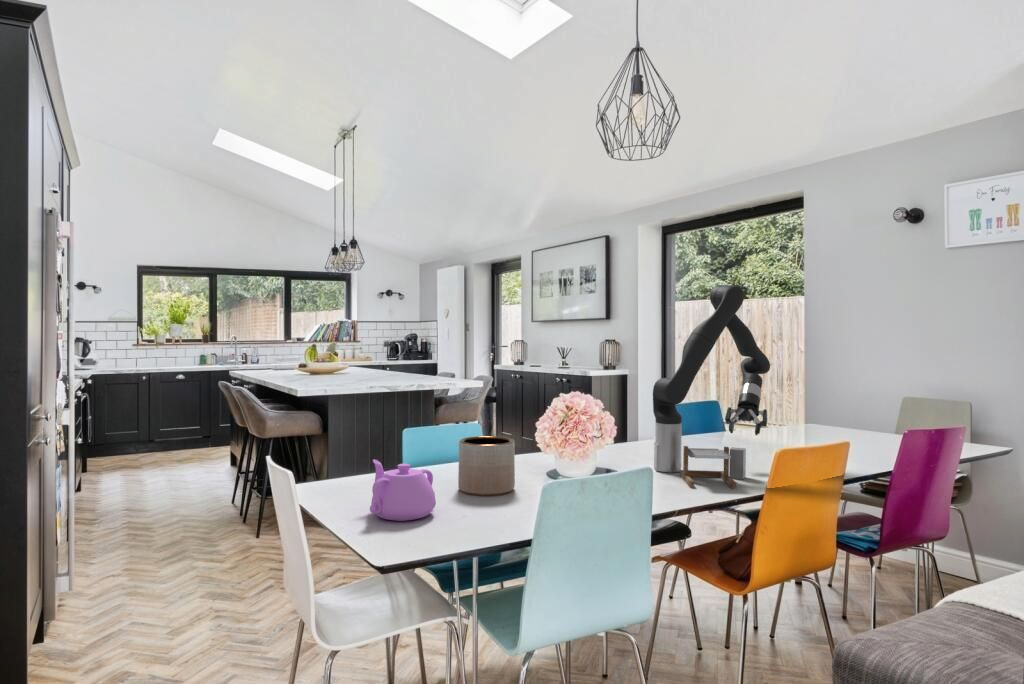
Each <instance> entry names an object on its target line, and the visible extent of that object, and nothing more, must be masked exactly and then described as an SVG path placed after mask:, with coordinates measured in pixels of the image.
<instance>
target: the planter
mask: <svg viewBox="0 0 1024 684" xmlns="http://www.w3.org/2000/svg"><path fill="white" fill-rule="evenodd" d="M515 443H516V442H515V439H513V438H509V437H506V436H497V435H493V436H492V435H478V436H477V435H475V436H468V437H463V438H461V439H459V441H458V475H457V477H458V479H457V480H458V483H457V485H458V489H459V490H460V491H461V492H463V493H465V494H468V495H472V496H480V497H481V496H484V497H487V496H489V497H491V496H500V495H501V496H502V495H505V494H508V493H510V492H512V491H513V490H514V489H515V483H516V478H515V477H516V474H515V473H516V470H515V469H516V468H515V466H516V465H515V462H516V461H515V454H516V453H515V446H516V445H515Z"/></svg>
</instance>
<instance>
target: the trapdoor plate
mask: <svg viewBox="0 0 1024 684" xmlns="http://www.w3.org/2000/svg"><path fill="white" fill-rule="evenodd" d="M688 450H690V452H688V458H695V459H713V460H714V459H716V460H718V459H719V460H720V459H722V460H724V459H729V460H730V459H731V456H730V453H729V454H728V453H726V452H725V451H724V449H719V448H697V447H696V448H694V447H693V448H691V447H688Z"/></svg>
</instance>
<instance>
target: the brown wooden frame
mask: <svg viewBox="0 0 1024 684" xmlns="http://www.w3.org/2000/svg"><path fill="white" fill-rule="evenodd" d="M688 448H689V446H688V445H683V459H682V461H683V462H682V463H683V464H682V465H683V468H682V469H681V470H680V472H679V474H680V478H681V479H682V480H683V481H684V482H685V483H686V485H687V486H688V488H690V489H694V488H695V482H694V480H693V479H692V478H720V479H721V480H723V482H725V483H726V484H727V485H728V487H730V488H731V489H733V490H737V484H738V483H737V482H736V481H735V479H732V478H730V477H729V471H730V459H723V470H695V469H693V470H691V469H690V470H689V456H688V452H690V450H688ZM723 451H725V452H726V453H728V454H729V455H730V447H729V446H723Z"/></svg>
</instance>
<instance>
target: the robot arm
mask: <svg viewBox="0 0 1024 684" xmlns="http://www.w3.org/2000/svg"><path fill="white" fill-rule="evenodd" d="M744 299H745V293H744V289H743V288H742V287H741V286H738V285H730V284H729V285H728V284H720V285H719V284H717V285H715V286H714V287H713V288H712V289H711V291H710V294H709V301H710V304H711V305H712V307H713V309H714V312H713V313H712V314H711V315H710V316H709V317H708V318H706V319H705V320H703V321H702V322H701V323H700V324H698V325H697V326H696V327H695V328H694V329H693V330H692V332H691V333H690V335H689V336H688V338H687V339H686V341H685V343H684V345H683V349H682V356H681V361H680V365H679V367H678V369H677V370H676V372H675V373H674V375H673V376H672V377H671V378H670V377H661V378H659V379H658V380H656V381H655V382H654V385H653V389H652V411H653V415H654V419H655V429H654V431H655V433H654V434H655V436H654V437H655V439H654V440H655V442H653V446H654V447H653V450H654V452H653V468H654V470H655V471H656V472H661V473H678V472H679V473H680V470H682V437H683V436H682V434H683V433H682V429H683V428H682V425H683V422H682V420H683V419H682V418H683V417H682V415H681V414H680V413H679V411H678V409H677V408H676V405H679V404H681V403H682V402H683V401H684V400H685V398H686V397H687V395H688V393H689V390H690V389H691V387H692V384H693V382H694V380H695V377H697V374H698V372H699V371H700V370H701V368H702V365H703V364H704V362H705V360H706V359H707V357H708V356H709V355H710V353H711V352H712V349H713V348H714V346H715V345H716V343H717V341H718V339H719V338H720V336H721V335H722V333H723V331H724V330H725V329H726V328H727V330H728V332H729V333H730V335H731V337H732V340H733V342H734V344H735V346H736V348H737V351H738V352H739V355H740V356H742V357H745V358H744V359H743V360H742V361H741V363H740V370H741V373H742V383H741V384H742V385H741V388H740V390H739V394H738V395H739V396H738V399H737V400H738V401H737V407H736V408H735V409H733V408H732V407H729V406H728V407H727V408H726V409H727V410H726V413H725V418H724V421H725V424H727V425H728V431H729V433H730V434H733V433H734V430H735V429H734V428H735V425H736V424H737V423H739V422H741V421H742V422H753V423H754V424H755V429H754V435H755V436H758V435H760V432H761V428H762V427H767V425H768V411H767V409H763V410H760V405H761V399H762V397H761V396H762V389H763V388H762V387H763V377H761V376H760V375H765V374H767V373H769V371H770V369H771V363H770V360H769V358H768V356H766V355H765V353H764V352H763V351H762V350H761V349H760V347H759V346H758V345H757V343H756V340H755V338H754V336H753V333H752V332H751V330H750V329H749V327H748V326H747V325H746V324H745V323H744V322H743V320H741V318H739V316H738V315H737V312H738V311H739V309H740V308H741V306H742V305H743V302H744V301H745V300H744ZM732 416H733V417H732ZM759 416H761V417H762V420H760V419H759V418H758V417H759Z"/></svg>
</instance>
